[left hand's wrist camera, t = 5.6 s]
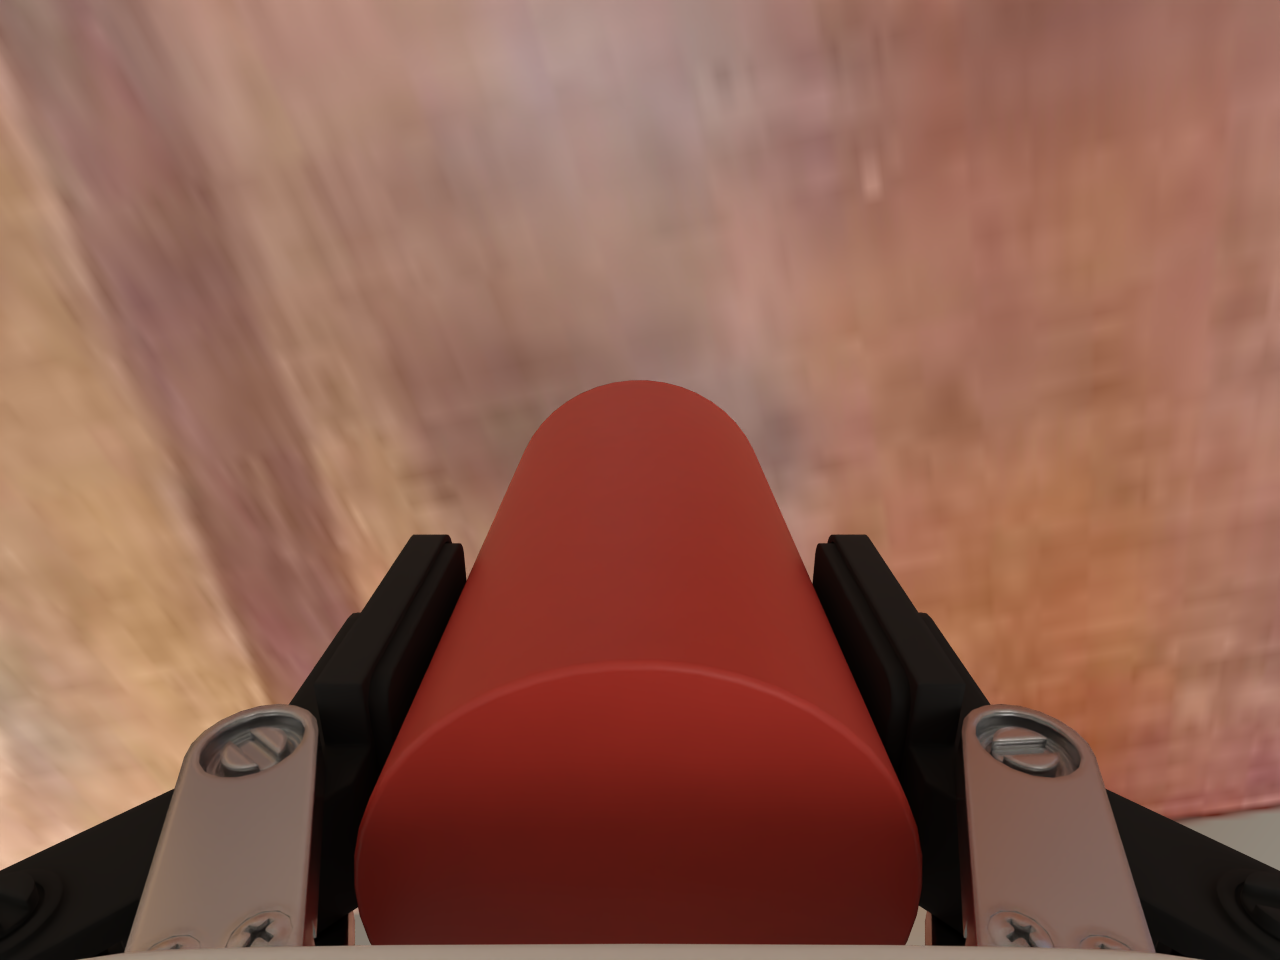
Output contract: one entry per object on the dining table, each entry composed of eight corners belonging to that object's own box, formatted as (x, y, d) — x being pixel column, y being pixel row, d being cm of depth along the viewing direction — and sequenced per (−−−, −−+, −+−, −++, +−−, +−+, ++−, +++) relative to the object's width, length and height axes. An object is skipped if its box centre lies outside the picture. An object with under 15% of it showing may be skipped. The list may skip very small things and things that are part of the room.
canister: (651, 325, 15) (670, 541, 6) (812, 510, 17) (1035, 923, 7) (464, 489, 17) (231, 885, 7) (628, 648, 18) (616, 1149, 9)
